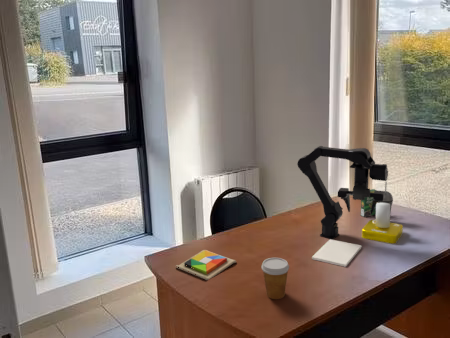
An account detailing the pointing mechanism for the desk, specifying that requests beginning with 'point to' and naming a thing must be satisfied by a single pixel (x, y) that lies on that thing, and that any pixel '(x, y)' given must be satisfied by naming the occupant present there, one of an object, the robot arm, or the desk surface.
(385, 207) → the grey cylinder
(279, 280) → the disposable coffee cup
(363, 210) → the coffee box
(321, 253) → the notebook
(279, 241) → the desk surface
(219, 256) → the wooden puzzle
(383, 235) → the element tile
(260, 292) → the desk surface
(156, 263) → the desk surface
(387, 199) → the beverage cup
